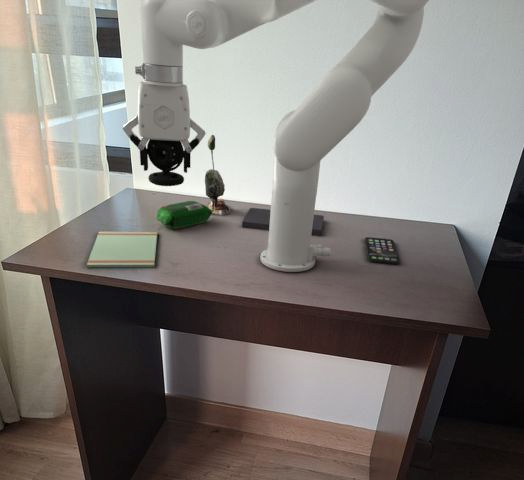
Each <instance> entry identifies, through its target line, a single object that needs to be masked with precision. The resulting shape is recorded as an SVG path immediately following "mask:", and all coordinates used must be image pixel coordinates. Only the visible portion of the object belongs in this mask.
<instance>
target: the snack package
mask: <svg viewBox="0 0 524 480" xmlns="http://www.w3.org/2000/svg"><path fill="white" fill-rule="evenodd" d="M211 215H213V214H212V210H211V209H209V208H208V207H207V205H205V204H203V203H200V202H198V201H195V200H187V201H182V202H176V203H170V204H166V205H163V206H161V207H159V209H158V210H157V213H156V220H157V222H160V223H161V224H162V225H163V226H165V227H167V228H169V229H171V230H179V229H182V228H187V227H192V226H196V225H199V224H204V223H205V222H207V220H208V219H210V217H211Z"/></svg>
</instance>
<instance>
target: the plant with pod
mask: <svg viewBox="0 0 524 480" xmlns="http://www.w3.org/2000/svg"><path fill="white" fill-rule="evenodd" d="M207 147H208V150H209V151H210V153H211V154H210V155H211V163H212V168H210V169H209V170H206V169H205V170H204V171H205V175H204V185H205V187H204V188H205V196H206V197H207V198H208V199H210V202H209V203H208V204H207V205H206V206H207V207H208V208H209V209H211V210H212V214H211V215H216V216H222V215H223V216H224V215H226V214H229V213H230V212H231V207H230V205H228V204H226V202H225V200H224V199H223V198H220V197H223V196H224V195H225V194H224V193H225V190H226V188H225V187H226V186H225V185H226V184H225V182H224V179H223V177H222V175H221V173H220V171H218V170H216V169H215V165H214V156H213V154H214V151H215V149H216V136H215V134H211V135H210V136H209V138H208V140H207ZM218 198H219V199H218Z"/></svg>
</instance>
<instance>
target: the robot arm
mask: <svg viewBox="0 0 524 480" xmlns="http://www.w3.org/2000/svg"><path fill="white" fill-rule="evenodd" d="M316 1H317V0H140V3H139V12H140V35H141V48H142V49H141V51H142V52H141V54H142V64H140V65H139V66H136V65H135V66H134V70H135V71H134V72H135V73H134V74H135V75H137V76H138V75H139V76H141V77H142V80H143V81H140V82H139V83H138V84H139V85H138V92H137V93H138V94H137V97H138V98H137V115H136V116H135V117H133V118H132V119H130V120H129V121H128V122H126V123H125V124H123V126H122V130H123V132H124V133H125V134H126V136H127V137H128V138H129V140H130V141H131V143H133V144H134V146H136V148H137V149H138V150H139V161H140V166H143V171H144V172H145V171H146V172H147V171H148V170H149V157H148V153H147V145H148V142H149V139H152V140H167V141H181V143H182V146H183V149H184V158H183V173H185V174H187V173H188V169H191V153H192V152H193V151H194V150H195V149H196V147H197V146H199V145H200V143H201V141H202V140H203V139H204V138H205V136H206V135H207V133H206V131H205V129H203V128H202V127H201V126H200V125H199V124H198V123H197V122H196V121H194V120H193V119H192V118H191V112H190V98H189V90H188V86H187V84H184V46H186V47H190V48H193V49H196V50H197V49H199V50H206V49H214V48H217V47H220V46H221V45H224V44H226V43H228V42H229V41H232V40H234V39H235V38H238V37H240V36H242V35H244V34H246V33H248V32H250V31H252V30H255V29H257V28H258V27H260V26H264V25H266V24H268V23H272V22H274V21H277V20H280V19H281V18H283V17H285V16H287V15H289V14H292V13H293V12H295V11H298V10H300V9H302V8H304V7H305V6H307V5H310V4H312V3H314V2H316ZM370 1H371V2H372V3H375V4H377V12H376V16H375V19H374V21H373V23H372V25H371V26H370V28H369V29H368V30H367V31H366V32H365V34H363V36H361V38H360V39H359V40H358V41H357V43H356V44H355V45H354V46H353V47H352V48H351V50H349V51H348V53H346V54H345V56H343V58H342V59H341V60H340V61H338V63H337V64H335V66H334V67H332V68H331V69H330V70H329V71H327V72H326V73H325V74H324V75H323V76H322V78H321V79H320V81H319V84H318V85H317V86H316V88H315V89H313V91H312V92H311V93H310V94H309V95H308V96H307V97H306V98H305V99H304V101H303V102H301V103H300V105H299V106H298V107H297V108H296V109H293V110H291V111H289V112H288V113H286V114H285V115H284V116H283V117H282V118H281V119H280V121H279V123H278V124H277V127H276V130H275V133H274V136H273V142H272V144H273V146H272V147H273V153H274V161H273V162H274V163H273V173H272V174H273V175H272V189H271V199H270V210H271V212H270V226H269V230H268V240H267V248H266V249H263V251H262V252H261V253H260V258H259V259H260V262H261V263H262V264H263V266H265V267H267V268H269V269H272V270H275V271H279V272H284V273H299V272H300V273H301V272H305V271H309V270H310V269H312V268H313V267H314V266H315V264H316V258H317V257H330V255H331V248H330V247H323V245H322V244H313V243H312V236H313V235H312V226H313V218H314V214H315V210H316V202H317V194H318V186H319V178H320V170H321V161H322V160H323V159H324V158H325V157H326V156H327V155H328V154H329V153H330V152H331V151H332V150H333V149H335V148H336V146H337V145H338V144H340V143H341V142H342V141H343V140H344V139H345V138H346V137H347V136H348V135H349V134H350V133H351V132H352V131H354V129H355V128H356V127H357V126H358V125H359V124H360V123H361V121H362V120H363V119H364V117H365V116H366V114H367V112H368V111H369V109H370V106H371V102H372V97H373V96H374V95H375V94H376V93H377V92H378V91H379V90H380V89H381V87H383V86H384V84H386V82H387V81H388V80H389V79H390V78H391V77H392V76H393V75H394V74H395V73H396V72H397V70H399V68H400V67H401V66H402V65H403V64H404V63H405V61H406V60H407V59H408V58H409V56H410V55H411V53H412V51H413V50H414V48H415V46H416V45H417V41H418V40H419V36H420V34H421V31H422V30H421V29H422V26H423V21H424V15H425V6H426V5H427V4H428V2H429V1H430V0H370ZM136 126H138V134H139V136H140V137H141V138H139V137H138V135H136V133H135V132H134V131H133V129H134V128H135V127H136ZM191 129H192V130H193V131H194V132H195V133H196V135H195V136H194V138H193V139H192V140H191V141H190V140H189V139H190V137H191V136H190V135H191Z"/></svg>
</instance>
